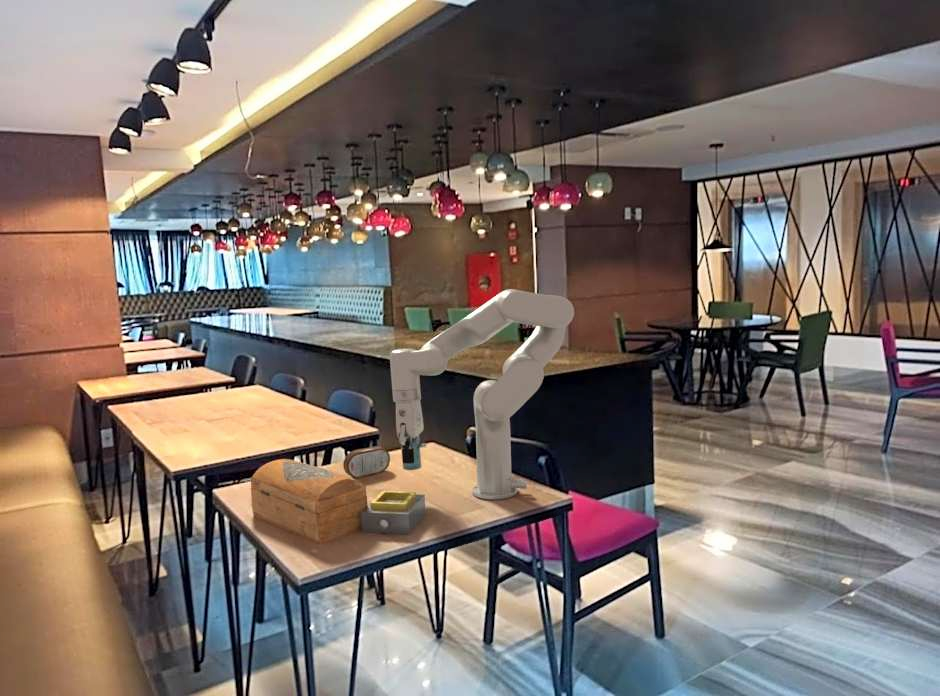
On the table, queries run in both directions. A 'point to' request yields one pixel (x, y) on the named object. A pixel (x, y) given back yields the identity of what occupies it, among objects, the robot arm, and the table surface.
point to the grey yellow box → (393, 513)
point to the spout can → (415, 455)
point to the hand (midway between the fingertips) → (411, 459)
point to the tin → (366, 461)
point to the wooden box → (307, 500)
